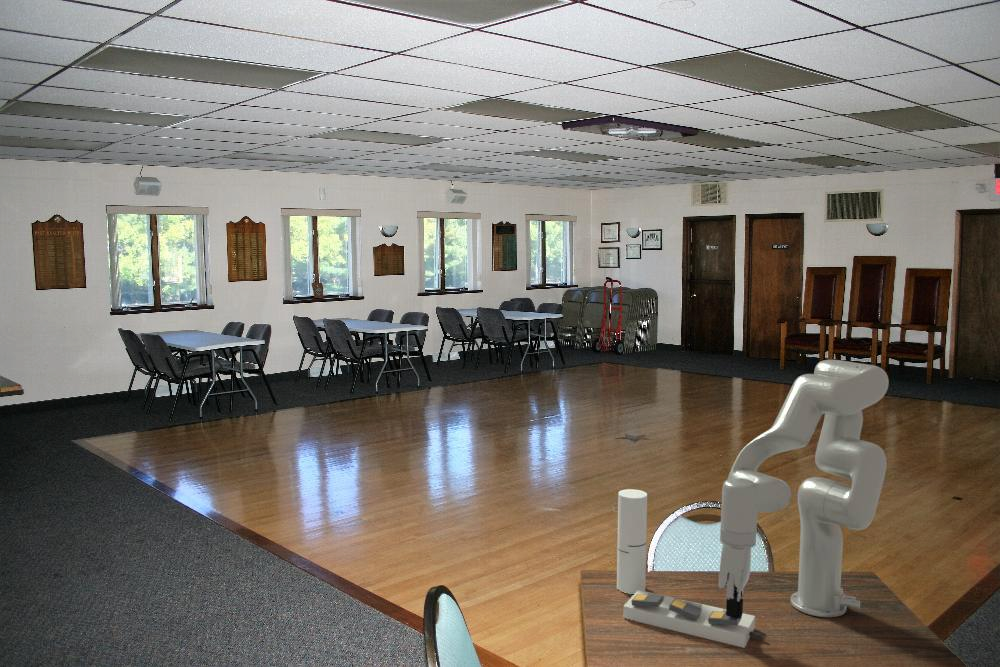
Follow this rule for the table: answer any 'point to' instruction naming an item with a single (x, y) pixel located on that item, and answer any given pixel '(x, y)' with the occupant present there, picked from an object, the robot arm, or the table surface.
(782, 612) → the table surface
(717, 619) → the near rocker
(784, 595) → the table surface
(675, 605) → the middle rocker
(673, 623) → the power strip
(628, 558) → the cylindrical container
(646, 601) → the far rocker
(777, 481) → the robot arm
